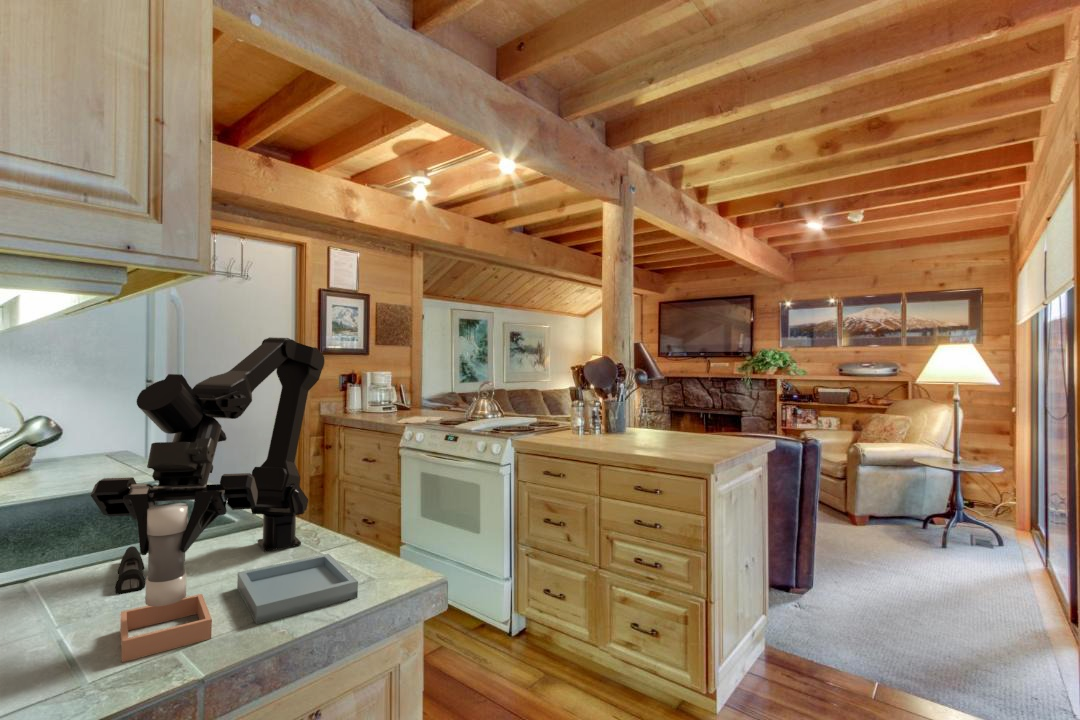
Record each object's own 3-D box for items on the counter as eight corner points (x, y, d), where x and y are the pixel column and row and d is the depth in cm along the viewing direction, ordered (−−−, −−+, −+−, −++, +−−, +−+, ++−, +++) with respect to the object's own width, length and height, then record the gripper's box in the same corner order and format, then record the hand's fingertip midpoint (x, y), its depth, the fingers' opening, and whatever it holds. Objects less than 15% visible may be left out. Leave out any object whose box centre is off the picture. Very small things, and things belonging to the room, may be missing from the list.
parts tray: (237, 588, 85) (237, 572, 85) (328, 567, 93) (328, 553, 93) (256, 624, 74) (256, 606, 74) (357, 597, 82) (357, 581, 82)
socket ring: (120, 630, 71) (120, 611, 71) (201, 611, 77) (202, 593, 77) (121, 662, 64) (122, 641, 64) (211, 638, 70) (211, 619, 70)
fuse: (144, 596, 71) (146, 506, 71) (184, 588, 74) (186, 501, 74) (146, 609, 67) (148, 514, 67) (188, 600, 70) (190, 508, 70)
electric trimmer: (145, 560, 96) (145, 543, 96) (145, 591, 83) (145, 571, 83) (118, 565, 94) (118, 547, 94) (114, 597, 81) (114, 576, 81)
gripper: (99, 418, 71) (49, 527, 61) (255, 417, 77) (233, 517, 66) (124, 465, 79) (84, 569, 68) (265, 461, 84) (247, 556, 74)
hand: (163, 552), depth 69 cm, fingers closed on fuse, 4 cm apart
